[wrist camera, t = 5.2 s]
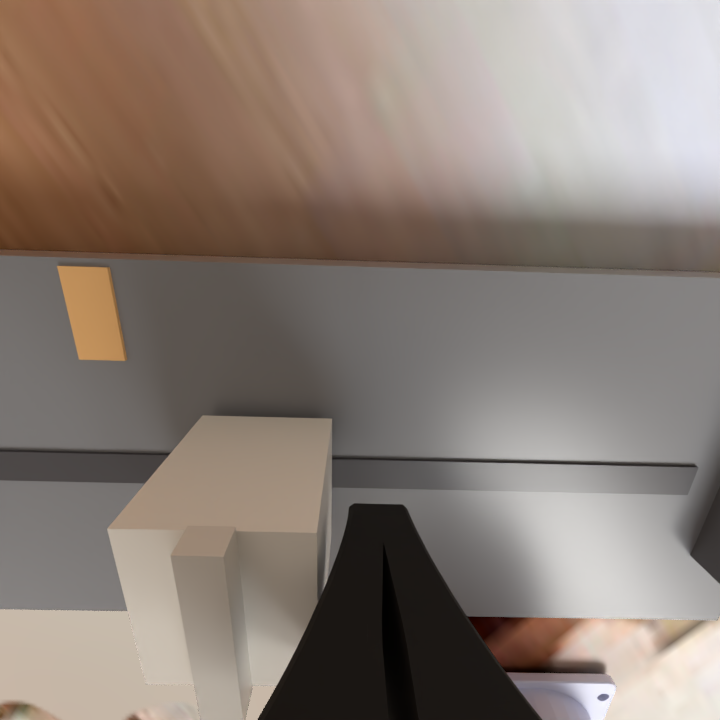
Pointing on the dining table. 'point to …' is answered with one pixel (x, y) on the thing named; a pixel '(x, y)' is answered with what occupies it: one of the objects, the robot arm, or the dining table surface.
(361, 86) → the dining table surface
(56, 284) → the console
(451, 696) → the robot arm
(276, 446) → the fader knob
